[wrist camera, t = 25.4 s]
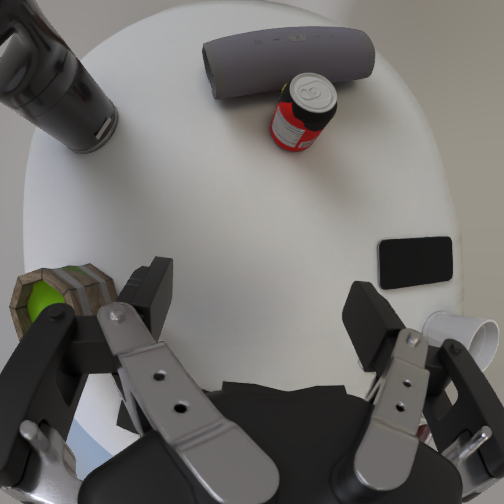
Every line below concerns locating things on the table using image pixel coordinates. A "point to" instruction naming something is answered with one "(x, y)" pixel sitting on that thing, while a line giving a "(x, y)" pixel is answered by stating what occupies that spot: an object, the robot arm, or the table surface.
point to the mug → (59, 293)
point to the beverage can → (303, 111)
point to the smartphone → (414, 261)
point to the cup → (465, 335)
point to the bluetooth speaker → (285, 58)
